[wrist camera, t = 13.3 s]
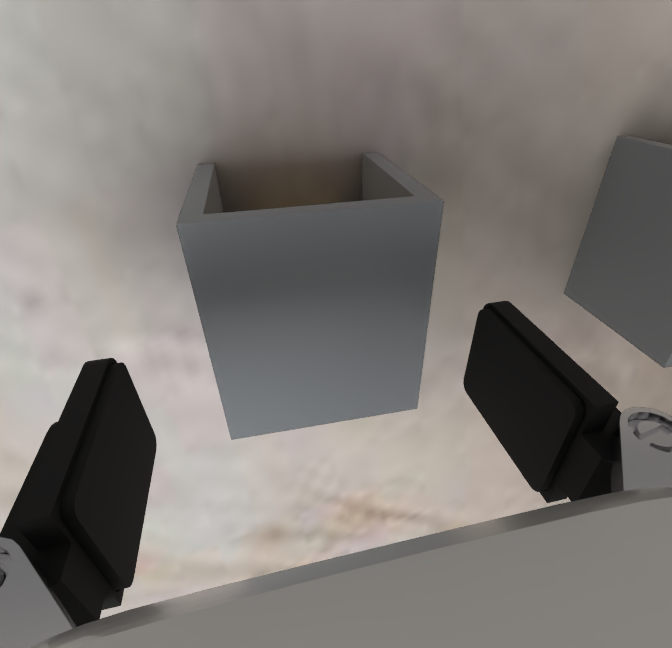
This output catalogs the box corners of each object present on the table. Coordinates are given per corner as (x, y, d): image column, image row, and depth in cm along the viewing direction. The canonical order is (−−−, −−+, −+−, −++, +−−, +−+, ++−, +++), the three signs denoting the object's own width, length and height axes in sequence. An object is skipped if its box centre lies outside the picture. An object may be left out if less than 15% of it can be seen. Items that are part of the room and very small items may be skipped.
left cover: (377, 151, 16) (443, 200, 11) (371, 317, 21) (417, 408, 15) (198, 164, 15) (175, 224, 10) (233, 335, 20) (231, 439, 14)
